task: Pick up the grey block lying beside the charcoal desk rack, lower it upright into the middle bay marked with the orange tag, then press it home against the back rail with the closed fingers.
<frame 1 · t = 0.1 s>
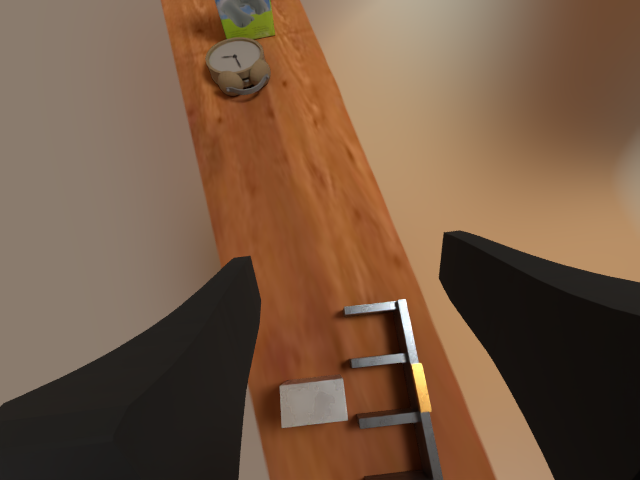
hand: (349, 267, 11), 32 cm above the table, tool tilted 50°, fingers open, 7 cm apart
box: (251, 35, 63), on the table
rack: (383, 386, 38), on the table
alarm clock: (242, 78, 59), on the table
grey block: (314, 394, 38), on the table
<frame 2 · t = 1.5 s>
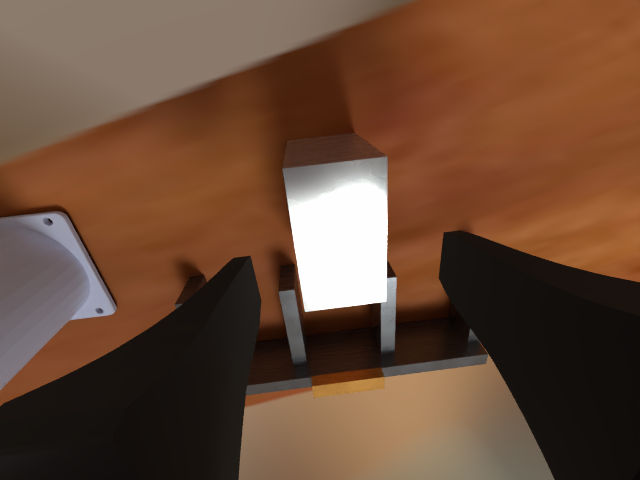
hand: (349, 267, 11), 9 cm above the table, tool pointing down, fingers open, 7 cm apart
rack: (336, 303, 23), on the table
grey block: (326, 193, 19), on the table
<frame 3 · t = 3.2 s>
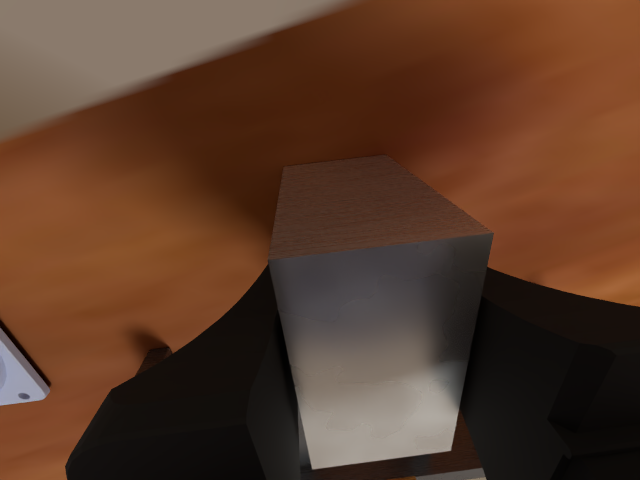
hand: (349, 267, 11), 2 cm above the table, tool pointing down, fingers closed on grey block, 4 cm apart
rack: (350, 376, 17), on the table
grey block: (340, 240, 13), on the table, touching gripper
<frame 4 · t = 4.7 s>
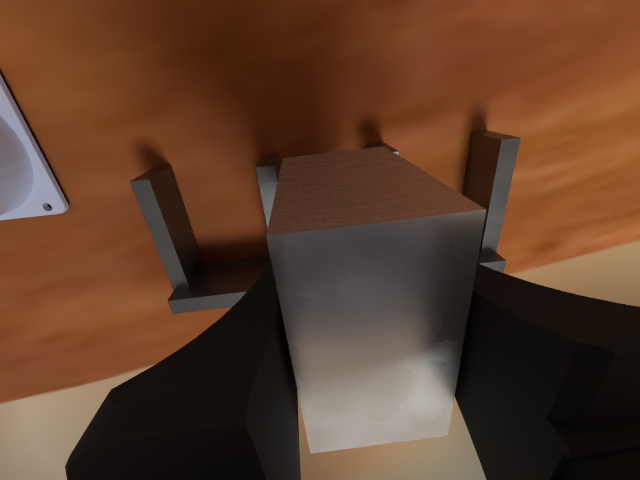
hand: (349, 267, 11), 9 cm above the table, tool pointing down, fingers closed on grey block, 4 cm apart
rack: (328, 209, 20), on the table
grey block: (339, 232, 13), point 7 cm above the table, touching gripper
when the fingers open (4 cm above the table, at t = 6.5 s): grey block drops 1 cm, on the table.
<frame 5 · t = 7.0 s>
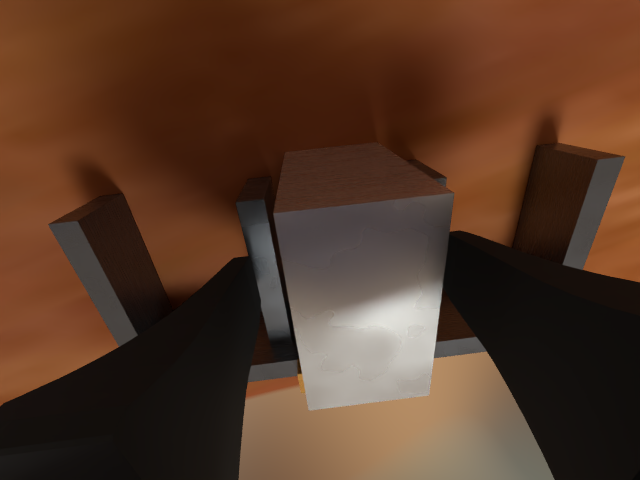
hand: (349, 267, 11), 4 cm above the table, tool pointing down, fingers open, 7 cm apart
rack: (338, 247, 15), on the table
grey block: (336, 221, 14), on the table
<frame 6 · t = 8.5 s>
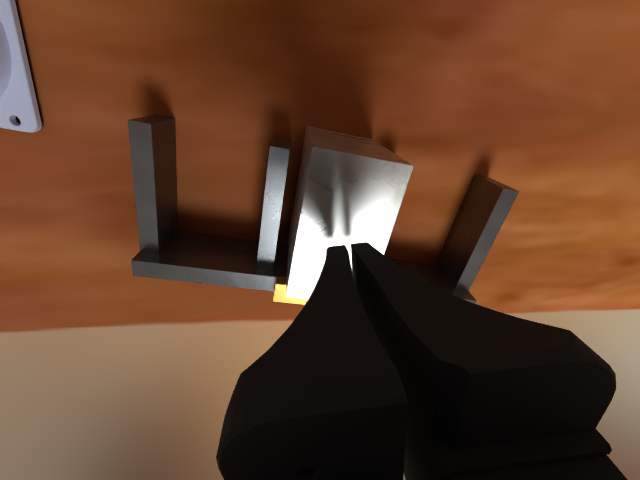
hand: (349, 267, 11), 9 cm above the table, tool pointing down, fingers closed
rack: (323, 210, 19), on the table
grey block: (327, 188, 19), on the table
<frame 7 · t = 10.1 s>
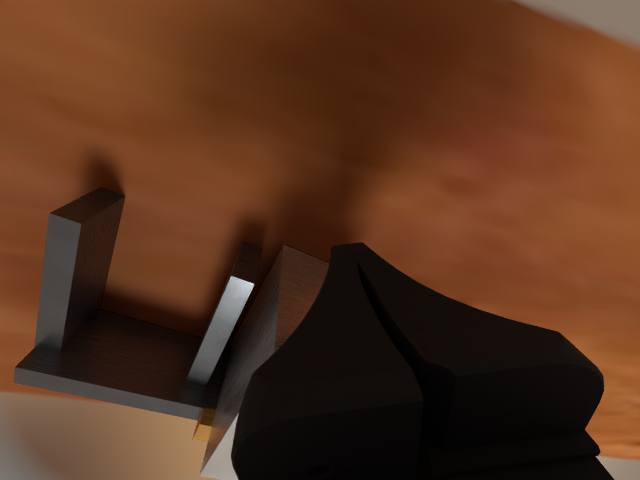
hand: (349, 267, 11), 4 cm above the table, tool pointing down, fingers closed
rack: (281, 320, 17), on the table
grey block: (289, 306, 17), on the table, touching gripper
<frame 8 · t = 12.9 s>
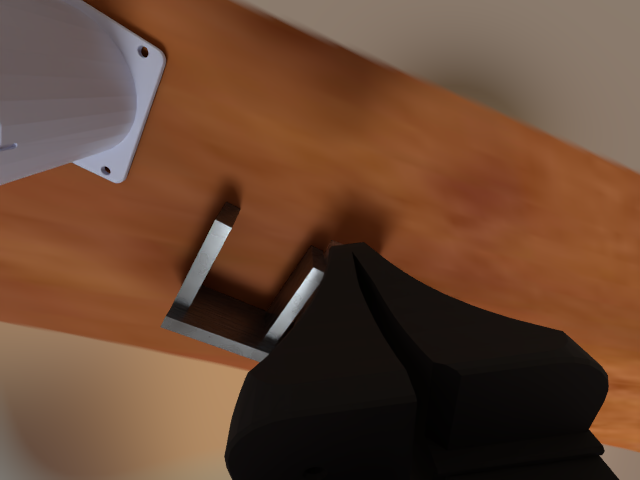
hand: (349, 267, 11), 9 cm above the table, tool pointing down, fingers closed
rack: (325, 303, 24), on the table
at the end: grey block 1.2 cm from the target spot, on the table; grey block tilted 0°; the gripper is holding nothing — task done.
